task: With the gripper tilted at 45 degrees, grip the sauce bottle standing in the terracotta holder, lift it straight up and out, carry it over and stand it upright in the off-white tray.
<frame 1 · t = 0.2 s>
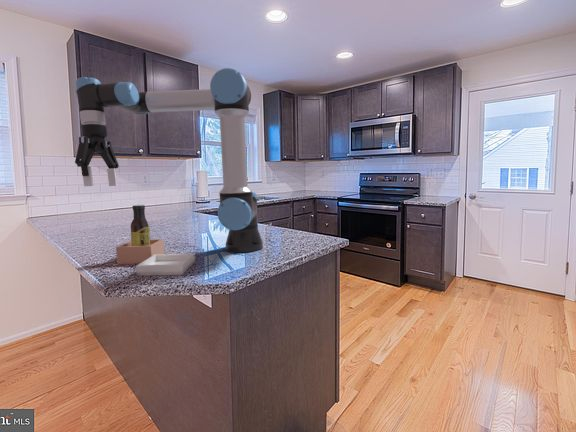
hand: (101, 186, 112), 27 cm above the countertop, tool pointing down, fingers open, 13 cm apart
sauce bottle: (142, 259, 116), resting in holder
holder: (142, 258, 116), on the countertop
tray: (167, 268, 103), on the countertop
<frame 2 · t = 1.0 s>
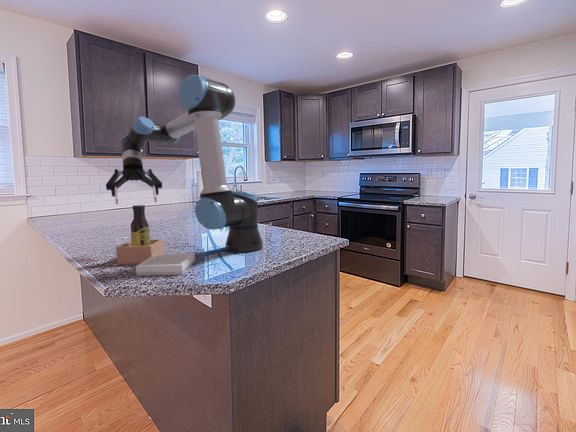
hand: (136, 201, 122), 21 cm above the countertop, tool tilted 45°, fingers open, 13 cm apart
nothing on the countertop moved.
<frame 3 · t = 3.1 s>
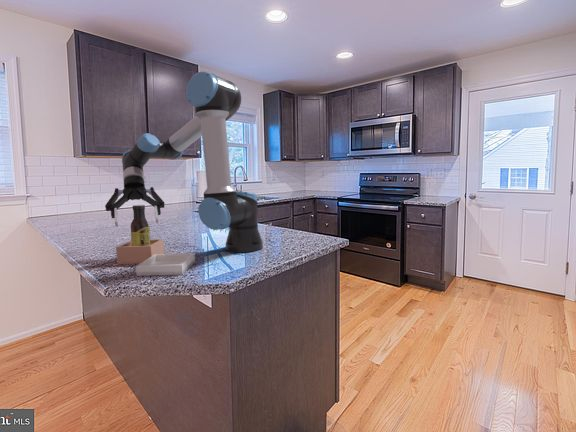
hand: (137, 222, 116), 13 cm above the countertop, tool tilted 45°, fingers open, 13 cm apart
nothing on the countertop moved.
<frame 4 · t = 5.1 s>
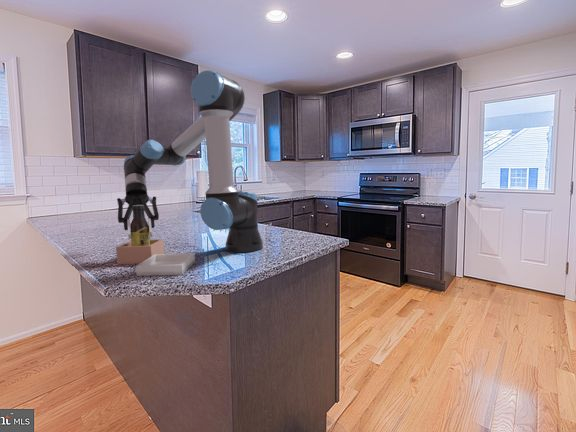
hand: (140, 235, 112), 9 cm above the countertop, tool tilted 45°, fingers closed on sauce bottle, 6 cm apart
sauce bottle: (142, 259, 116), resting in holder, touching gripper
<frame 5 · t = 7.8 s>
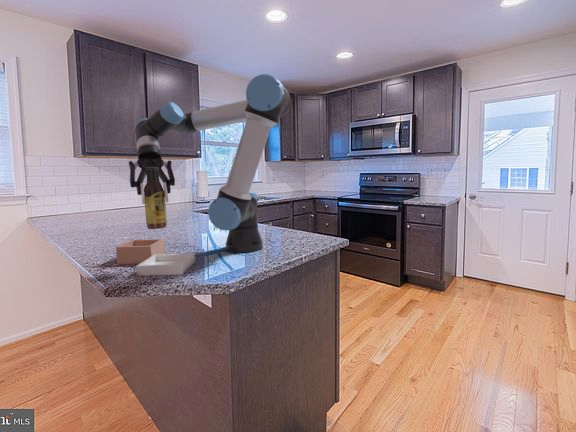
hand: (155, 200, 99), 23 cm above the countertop, tool tilted 45°, fingers closed on sauce bottle, 6 cm apart
sauce bottle: (157, 228, 104), point 13 cm above the countertop, touching gripper
when the fingers open (12 cm above the countertop, at t = 10.5 s): sauce bottle drops 1 cm, resting on tray.
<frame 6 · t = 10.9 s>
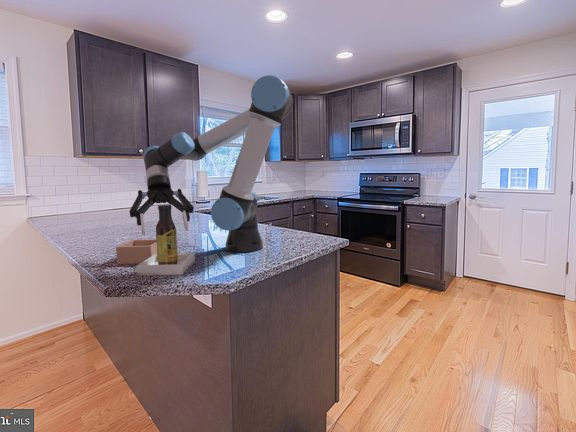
hand: (165, 230, 99), 13 cm above the countertop, tool tilted 45°, fingers open, 12 cm apart
sauce bottle: (168, 265, 103), point 1 cm above the countertop, touching tray
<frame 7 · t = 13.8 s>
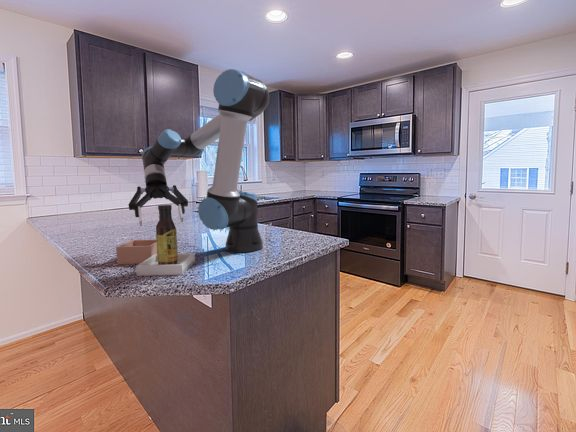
hand: (162, 221, 111), 14 cm above the countertop, tool tilted 45°, fingers open, 13 cm apart
nothing on the countertop moved.
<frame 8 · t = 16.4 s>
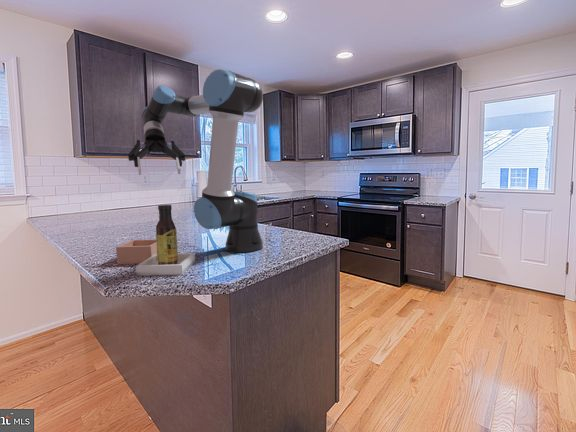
hand: (160, 171, 117), 32 cm above the countertop, tool tilted 45°, fingers open, 13 cm apart
nothing on the countertop moved.
at the end: sauce bottle inside the target area on the tray (0.3 cm from its centre), point 0.8 cm above the tray's base; sauce bottle tilted 0°; the gripper is holding nothing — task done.
